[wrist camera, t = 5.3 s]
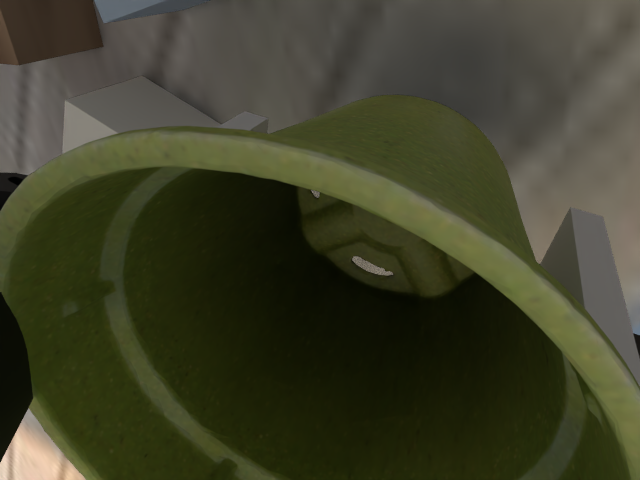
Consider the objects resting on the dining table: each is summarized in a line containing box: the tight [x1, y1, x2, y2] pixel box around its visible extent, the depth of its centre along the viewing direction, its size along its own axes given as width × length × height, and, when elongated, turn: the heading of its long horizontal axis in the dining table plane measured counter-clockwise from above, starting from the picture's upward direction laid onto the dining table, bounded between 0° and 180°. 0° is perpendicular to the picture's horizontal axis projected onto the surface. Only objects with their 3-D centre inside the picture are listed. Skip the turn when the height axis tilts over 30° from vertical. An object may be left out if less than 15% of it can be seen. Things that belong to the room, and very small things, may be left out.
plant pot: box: [0, 95, 640, 480], centre depth 10 cm, size 9×9×9 cm
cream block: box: [62, 76, 221, 154], centre depth 24 cm, size 5×5×5 cm
